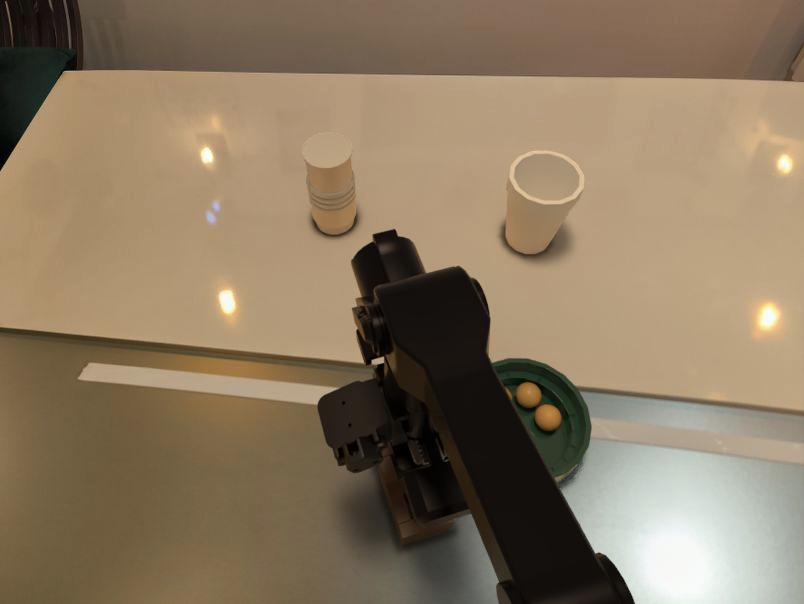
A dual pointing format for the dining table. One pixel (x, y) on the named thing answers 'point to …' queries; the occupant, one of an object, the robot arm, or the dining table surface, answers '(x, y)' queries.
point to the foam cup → (540, 198)
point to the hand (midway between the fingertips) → (413, 439)
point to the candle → (330, 181)
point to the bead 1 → (528, 395)
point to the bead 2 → (548, 417)
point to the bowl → (556, 390)
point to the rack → (404, 503)
